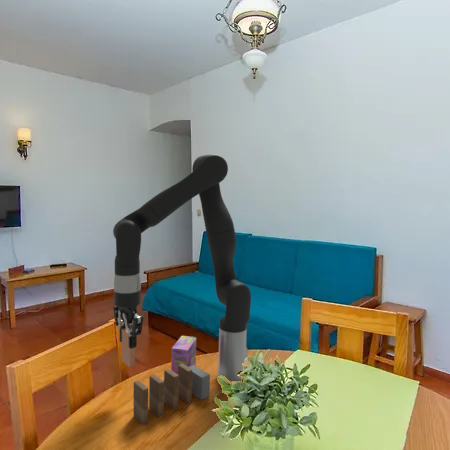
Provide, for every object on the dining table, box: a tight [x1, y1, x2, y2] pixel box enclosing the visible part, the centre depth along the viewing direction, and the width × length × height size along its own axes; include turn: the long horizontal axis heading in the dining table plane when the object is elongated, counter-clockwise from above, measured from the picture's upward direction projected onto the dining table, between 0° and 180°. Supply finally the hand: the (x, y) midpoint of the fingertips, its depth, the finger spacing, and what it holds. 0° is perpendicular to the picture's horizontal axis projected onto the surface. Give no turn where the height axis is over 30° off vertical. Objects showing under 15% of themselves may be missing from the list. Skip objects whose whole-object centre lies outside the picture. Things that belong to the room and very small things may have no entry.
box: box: [170, 335, 197, 374], centre depth 121 cm, size 10×6×12 cm, turn 168°
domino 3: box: [163, 368, 179, 411], centre depth 104 cm, size 2×5×10 cm, turn 44°
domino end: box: [120, 328, 136, 368], centre depth 105 cm, size 2×5×10 cm, turn 44°
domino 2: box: [148, 374, 165, 418], centre depth 101 cm, size 2×5×10 cm, turn 44°
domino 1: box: [133, 379, 149, 426], centre depth 97 cm, size 2×5×10 cm, turn 44°
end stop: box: [189, 365, 211, 401], centre depth 111 cm, size 3×8×7 cm, turn 44°
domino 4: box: [178, 363, 193, 404], centre depth 108 cm, size 2×5×10 cm, turn 44°
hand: (127, 344), depth 105 cm, fingers closed on domino end, 5 cm apart
